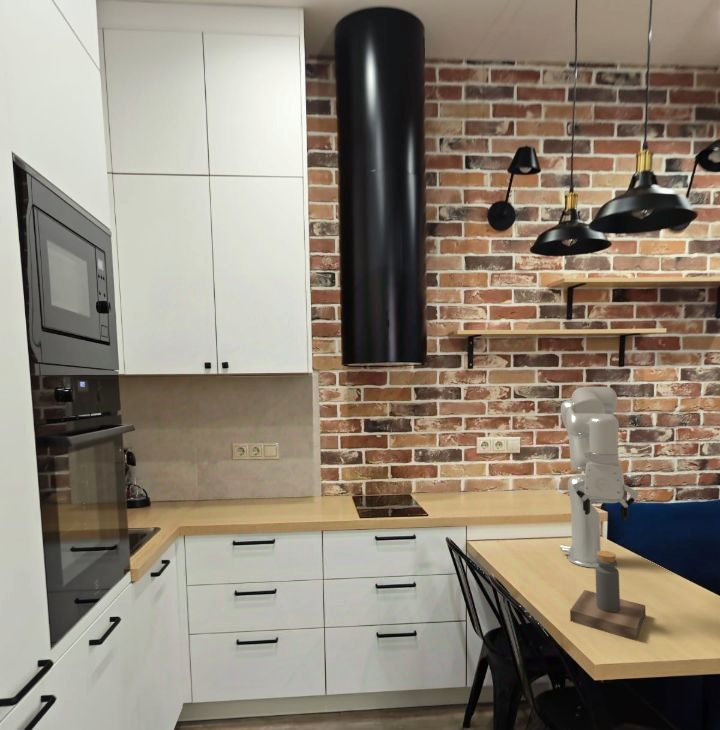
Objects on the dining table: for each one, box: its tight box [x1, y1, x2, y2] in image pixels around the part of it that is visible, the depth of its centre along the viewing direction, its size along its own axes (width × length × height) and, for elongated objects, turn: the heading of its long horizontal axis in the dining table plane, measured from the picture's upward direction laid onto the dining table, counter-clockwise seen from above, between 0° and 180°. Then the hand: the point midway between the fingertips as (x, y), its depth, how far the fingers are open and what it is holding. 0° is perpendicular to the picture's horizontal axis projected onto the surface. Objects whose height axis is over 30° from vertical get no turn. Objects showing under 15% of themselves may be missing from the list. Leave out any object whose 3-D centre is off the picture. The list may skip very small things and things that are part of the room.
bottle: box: [595, 550, 621, 612], centre depth 131 cm, size 6×6×15 cm
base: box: [569, 589, 647, 642], centre depth 131 cm, size 16×16×3 cm
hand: (605, 516), depth 137 cm, fingers open, 9 cm apart
